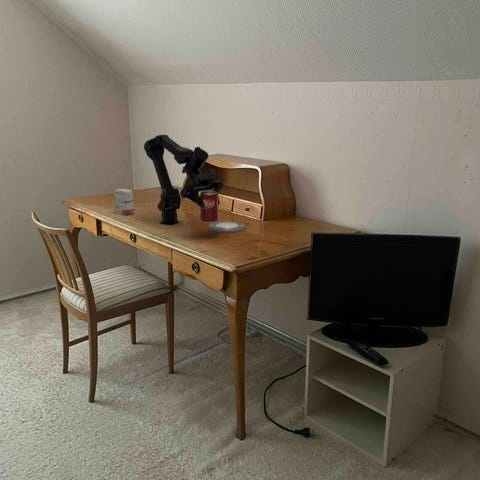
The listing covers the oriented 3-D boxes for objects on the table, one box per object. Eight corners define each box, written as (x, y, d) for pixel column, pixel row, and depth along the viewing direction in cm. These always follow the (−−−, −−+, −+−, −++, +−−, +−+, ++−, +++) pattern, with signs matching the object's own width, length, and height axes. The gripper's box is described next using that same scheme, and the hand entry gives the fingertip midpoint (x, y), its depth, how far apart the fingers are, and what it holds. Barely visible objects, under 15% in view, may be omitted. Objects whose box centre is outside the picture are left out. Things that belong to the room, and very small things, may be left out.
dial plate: (209, 223, 227) (209, 221, 227) (244, 223, 228) (244, 220, 227) (208, 232, 212) (208, 230, 211) (246, 232, 212) (246, 230, 212)
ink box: (134, 214, 244) (133, 190, 241) (127, 215, 240) (125, 191, 237) (123, 211, 249) (121, 188, 246) (115, 213, 245) (113, 189, 242)
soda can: (208, 218, 209) (208, 189, 205) (221, 221, 204) (221, 192, 201) (196, 221, 203) (196, 192, 200) (209, 224, 199) (209, 194, 195)
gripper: (183, 164, 194) (200, 197, 189) (221, 161, 206) (238, 191, 201) (172, 182, 202) (189, 213, 197) (209, 177, 214) (225, 207, 209)
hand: (211, 206), depth 201 cm, fingers closed on soda can, 7 cm apart
